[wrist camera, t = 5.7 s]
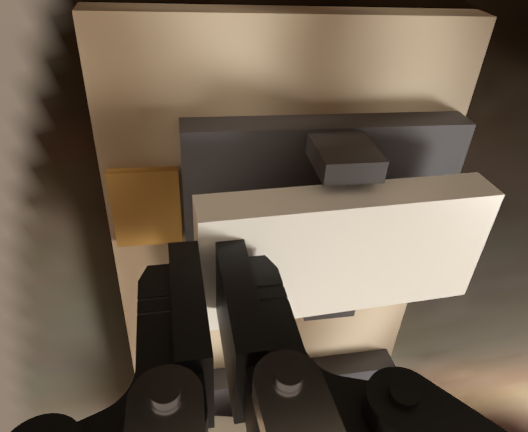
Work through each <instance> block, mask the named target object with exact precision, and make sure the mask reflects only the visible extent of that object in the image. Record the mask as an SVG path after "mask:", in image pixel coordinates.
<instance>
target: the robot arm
mask: <svg viewBox="0 0 528 432" xmlns="http://www.w3.org/2000/svg"><path fill="white" fill-rule="evenodd" d="M215 246H216V311H217V318H218V324H219V331H220V337H221V344H222V350H223V356H224V363H225V369H226V376H227V382H228V389H229V395H230V401H231V408H232V414H233V421H234V424H239V423H245V424H246V430H247V432H507V431H506V430H504V429H503V428H501V427H500V426H498V425H497V424H495V423H494V422H492V421H490V420H489V419H487V418H486V417H484V416H483V415H481V414H480V413H478V412H477V411H475V410H474V409H472V408H470V407H469V406H467V405H466V404H464V403H463V402H461V401H460V400H458V399H457V398H455V397H454V396H452V395H451V394H449V393H447V392H446V391H444V390H443V389H441V388H440V387H438V386H437V385H435V384H434V383H432V382H431V381H429V380H427V379H426V378H424V377H423V376H421V375H420V374H418V373H416V372H414V371H412V370H410V369H406V368H403V367H385V368H382V369H380V370H378V371H376V372H375V373H374V374H373V375H372V376H371V377H370V379H369V380H363V379H356V378H350V377H344V376H339V375H335V374H333V373H330V372H328V371H326V370H324V369H322V368H321V367H319V366H318V365H317V363H316V362H315V361H314V360H313V359H312V358H310V357H309V355H308V354H307V352H306V350H305V348H304V345H303V342H302V339H301V336H300V333H299V330H298V327H297V324H296V321H295V318H294V315H293V312H292V309H291V306H290V303H289V300H288V298H287V294H286V291H285V288H284V287H283V282H282V279H281V276H280V273H279V270H278V268H277V267H276V266H275V264H274V263H273V262H272V261H271V260H270V259H269V258H268V257H267V256H266V255H261V256H250V257H249V256H248V252H247V248H246V244H245V241H244V239H241V240H231V241H220V242H215ZM168 253H169V264H160V265H149V266H147V267H146V269H145V270H144V272H143V274H142V275H141V277H140V279H139V280H138V294H137V300H138V302H137V329H136V365H135V375H134V379H133V381H132V383H131V385H130V387H129V389H128V390H127V392H126V393H125V394H124V395H123V396H122V397H121V398H120V399H119V400H118V401H117V402H116V403H114V404H113V405H111V406H110V407H108V408H106V409H104V410H102V411H100V412H98V413H96V414H94V415H91V416H89V417H87V418H85V419H82V420H80V421H78V422H76V421H75V420H74V419H73V418H71V417H69V416H67V415H64V414H59V413H49V414H43V415H39V416H36V417H33V418H31V419H28V420H27V421H25V422H23V423H21V424H20V425H19V426H17V427H16V428H14V429H13V430H12V431H11V432H208V428H215V426H214V357H213V350H212V343H211V335H210V328H209V320H208V313H207V306H206V298H205V291H204V284H203V276H202V269H201V262H200V254H199V247H198V241H185V242H172V243H168Z"/></svg>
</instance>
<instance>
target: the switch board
mask: <svg viewBox="0 0 528 432" xmlns="http://www.w3.org/2000/svg"><path fill="white" fill-rule="evenodd" d="M72 15H73V20H74V26H75V32H76V38H77V43H78V49H79V55H80V61H81V67H82V72H83V78H84V84H85V90H86V95H87V101H88V107H89V113H90V119H91V124H92V130H93V136H94V142H95V147H96V153H97V159H98V165H99V171H100V176H101V182H102V188H103V194H104V199H105V205H106V211H107V217H108V223H109V228H110V234H111V240H112V246H113V252H114V257H115V263H116V269H117V275H118V280H119V286H120V292H121V298H122V304H123V309H124V315H125V321H126V327H127V332H128V338H129V344H130V350H131V356H132V361H133V367H134V373H135V365H136V329H137V302H138V300H137V294H138V280H139V279H140V277H141V275H142V274H143V272H144V270H145V269H146V267H147V266H149V265H160V264H169V253H168V243H172V242H185V241H194V225H193V203H192V195H197V194H210V193H222V192H235V191H247V190H260V189H272V188H285V187H298V186H310V185H323V186H338V185H357V184H377V183H384V182H385V180H386V179H398V178H411V177H423V176H436V175H449V174H460V172H461V169H462V166H463V163H464V160H465V157H466V154H467V151H468V148H469V145H470V142H471V139H472V136H473V133H474V130H475V127H476V124H475V123H474V122H472V121H471V120H470V119H468V118H467V117H466V114H467V111H468V108H469V104H470V101H471V98H472V95H473V92H474V88H475V85H476V82H477V79H478V76H479V72H480V69H481V66H482V63H483V60H484V56H485V53H486V50H487V47H488V44H489V40H490V37H491V34H492V31H493V28H494V25H495V21H496V18H497V17H496V16H494V15H491V14H488V13H486V12H483V11H481V10H478V9H446V8H389V7H333V6H277V5H221V4H164V3H108V2H78V3H77V4H76V6H75V7H74V8H73V10H72ZM406 305H407V303H402V304H395V305H388V306H380V307H373V308H366V309H359V310H352V311H345V312H338V313H331V314H324V315H317V316H310V317H303V318H296V319H295V321H296V324H297V327H298V330H299V333H300V336H301V339H302V342H303V345H304V348H305V350H306V352H307V354H308V355H309V357H310V358H312V359H313V360H314V361H315V362H316V363H317V365H318V366H319V367H321V368H322V369H324V370H326V371H328V372H330V373H333V374H335V375H339V376H344V377H350V378H356V379H363V380H369V379H370V377H371V376H372V375H373V374H374V373H375V372H376V371H378V370H380V369H382V368H385V367H395V365H394V363H393V361H392V359H391V357H390V356H391V353H392V350H393V347H394V344H395V340H396V337H397V334H398V331H399V328H400V325H401V321H402V318H403V315H404V312H405V309H406ZM210 335H211V343H212V350H213V357H214V416H228V417H233V414H232V408H231V401H230V395H229V389H228V382H227V376H226V369H225V363H224V356H223V350H222V344H221V337H220V331H219V330H212V331H210Z"/></svg>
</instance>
